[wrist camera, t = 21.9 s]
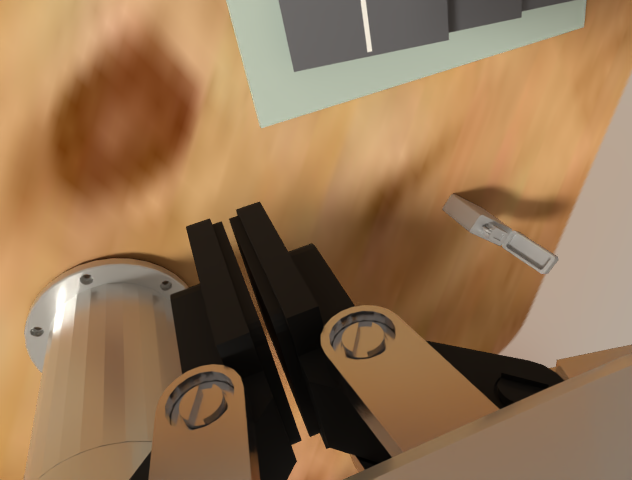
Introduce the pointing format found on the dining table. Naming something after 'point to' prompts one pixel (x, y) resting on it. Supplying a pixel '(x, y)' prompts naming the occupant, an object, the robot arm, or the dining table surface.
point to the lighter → (499, 233)
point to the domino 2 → (481, 12)
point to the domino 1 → (359, 28)
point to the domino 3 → (540, 3)
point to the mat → (375, 71)
